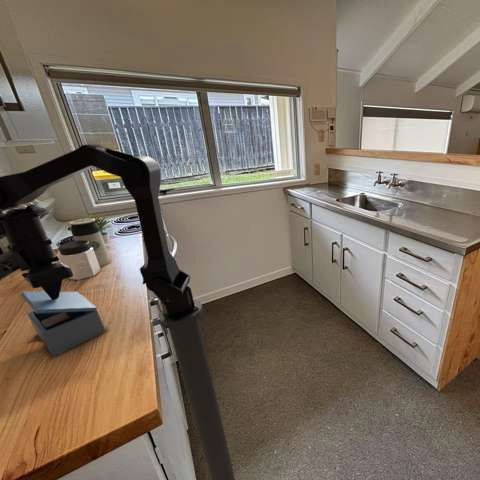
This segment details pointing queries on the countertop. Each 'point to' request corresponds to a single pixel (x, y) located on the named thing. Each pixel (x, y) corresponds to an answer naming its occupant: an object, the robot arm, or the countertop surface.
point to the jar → (79, 259)
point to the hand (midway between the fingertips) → (55, 298)
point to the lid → (58, 302)
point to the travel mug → (90, 237)
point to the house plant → (104, 234)
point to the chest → (67, 329)
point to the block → (55, 321)
